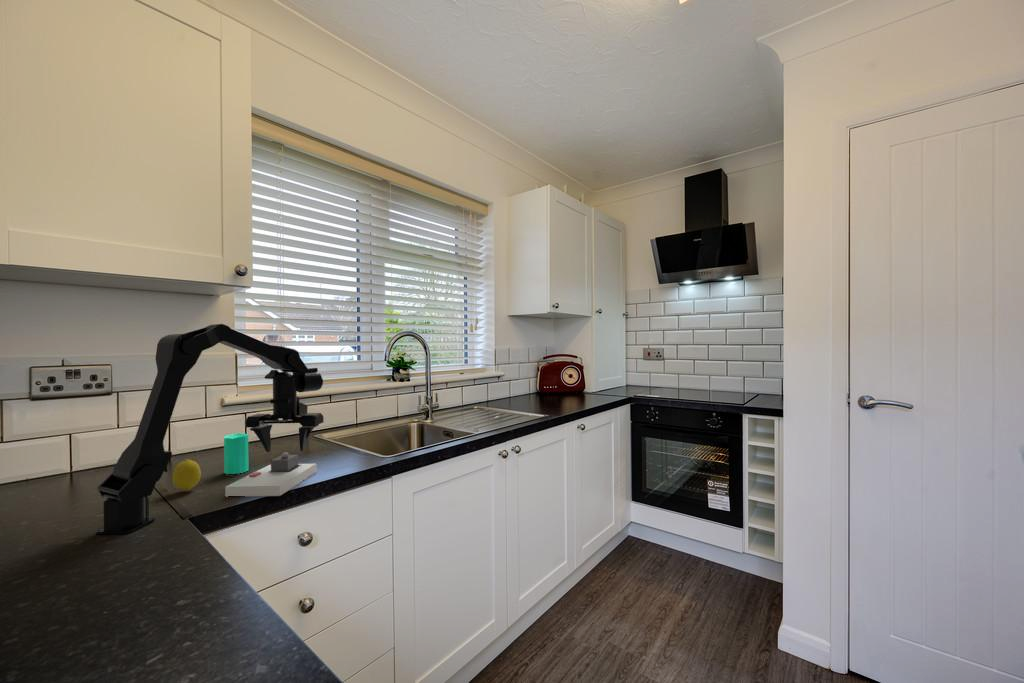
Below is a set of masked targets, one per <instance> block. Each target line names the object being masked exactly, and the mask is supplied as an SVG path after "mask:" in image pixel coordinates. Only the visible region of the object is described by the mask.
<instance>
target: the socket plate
mask: <svg viewBox="0 0 1024 683" xmlns="http://www.w3.org/2000/svg"><path fill="white" fill-rule="evenodd" d="M317 467H318V466H317V463H298V468H296V469H294V470H292V471H291V472H274V473H271V463H270V464H269V465H266V466H265V467H262V468H261V469H258V470H256V471H253V472H252V473H250V474H248V475H247V476H244V477H241V478H240V479H238V480H236V481H235V482H232V483H230V484H228V485H226V486H225V487H224V488H225V489H224V490H225V492H224V494H225V496H226V497H225V498H229V497H228V496H245V497H281V496H282V495H284V494H285V493H287V492H288V491H290V490H291V489H293V488H294V487H296V486H298V485H299V484H301V483H302V482H304V481H305V480H307V479H308V478H310V477H312V476H313V475H314V474H316V473H317ZM303 480H304V481H303ZM300 482H301V483H300ZM297 484H298V485H297Z"/></svg>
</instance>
